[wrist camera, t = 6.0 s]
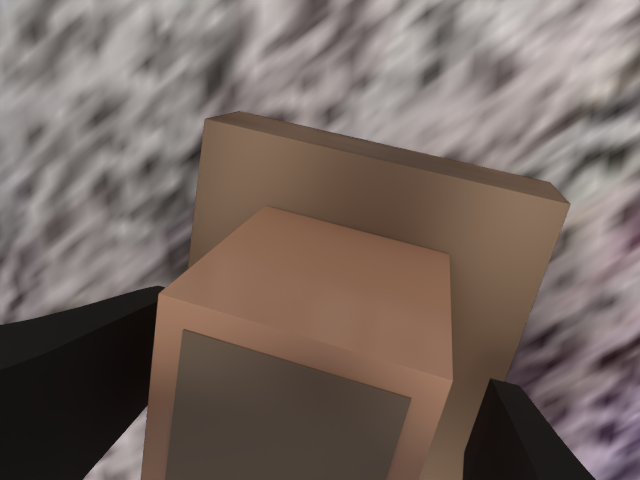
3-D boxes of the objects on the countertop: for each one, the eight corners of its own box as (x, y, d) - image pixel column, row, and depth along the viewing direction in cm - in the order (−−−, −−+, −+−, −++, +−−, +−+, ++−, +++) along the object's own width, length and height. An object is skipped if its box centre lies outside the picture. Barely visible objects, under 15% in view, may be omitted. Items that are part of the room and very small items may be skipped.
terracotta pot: (238, 360, 15) (136, 511, 10) (264, 205, 14) (157, 294, 8) (400, 410, 15) (377, 598, 10) (449, 254, 13) (452, 382, 8)
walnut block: (211, 358, 19) (171, 408, 16) (245, 109, 16) (204, 118, 13) (457, 432, 18) (460, 500, 15) (546, 178, 15) (570, 204, 12)
